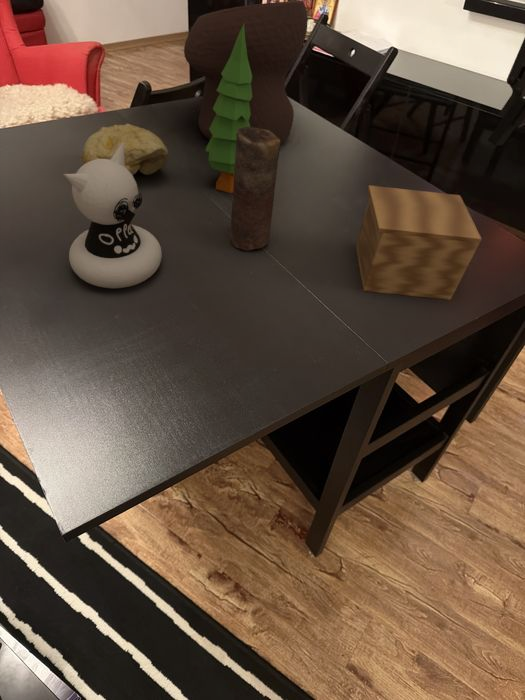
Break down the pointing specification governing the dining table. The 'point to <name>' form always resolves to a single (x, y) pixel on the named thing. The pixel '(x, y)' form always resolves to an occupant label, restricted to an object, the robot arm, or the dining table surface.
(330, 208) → the dining table surface
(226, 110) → the decorative tree
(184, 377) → the dining table surface
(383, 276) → the chest
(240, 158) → the brown upright cylinder
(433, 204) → the lid
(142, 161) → the beige rounded lump
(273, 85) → the vase
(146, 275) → the decorative figurine
